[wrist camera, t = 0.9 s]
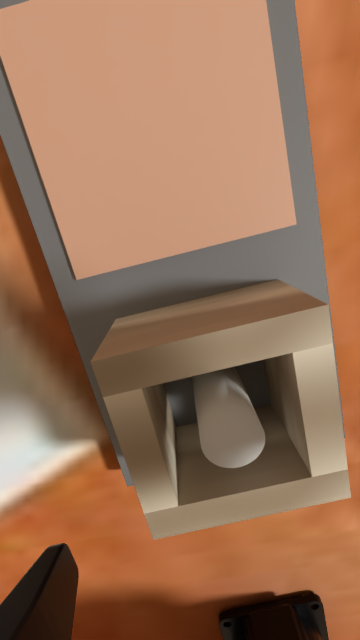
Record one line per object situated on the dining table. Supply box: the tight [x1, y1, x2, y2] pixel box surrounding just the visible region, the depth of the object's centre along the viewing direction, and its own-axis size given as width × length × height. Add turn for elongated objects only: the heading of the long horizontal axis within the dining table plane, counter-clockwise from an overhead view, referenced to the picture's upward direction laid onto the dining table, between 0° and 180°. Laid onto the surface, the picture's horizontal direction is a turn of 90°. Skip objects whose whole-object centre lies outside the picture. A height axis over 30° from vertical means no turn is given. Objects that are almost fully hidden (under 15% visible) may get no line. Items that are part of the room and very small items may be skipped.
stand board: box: [0, 0, 345, 486], centre depth 11 cm, size 20×11×6 cm, turn 14°
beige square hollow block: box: [91, 279, 351, 540], centre depth 12 cm, size 7×7×4 cm
